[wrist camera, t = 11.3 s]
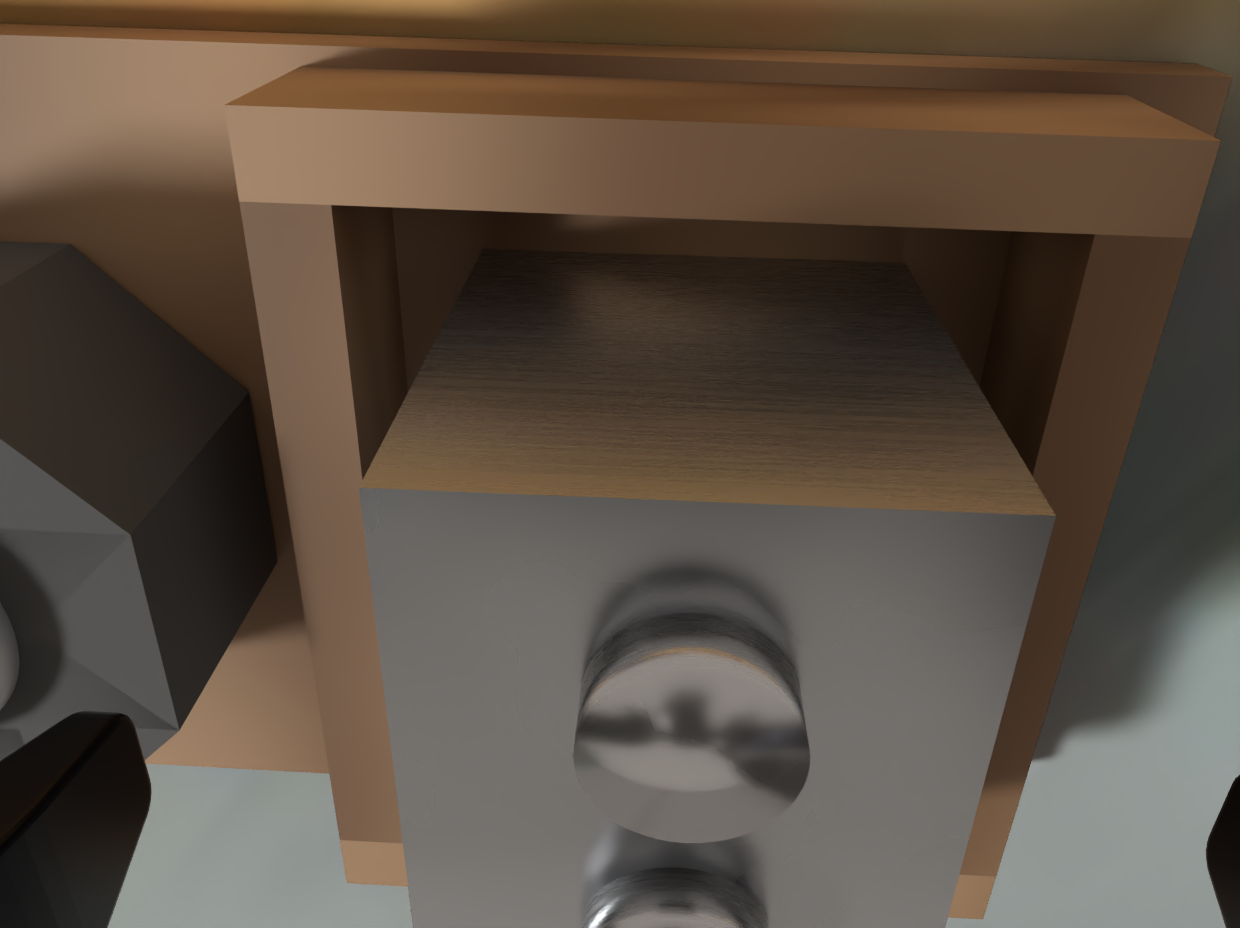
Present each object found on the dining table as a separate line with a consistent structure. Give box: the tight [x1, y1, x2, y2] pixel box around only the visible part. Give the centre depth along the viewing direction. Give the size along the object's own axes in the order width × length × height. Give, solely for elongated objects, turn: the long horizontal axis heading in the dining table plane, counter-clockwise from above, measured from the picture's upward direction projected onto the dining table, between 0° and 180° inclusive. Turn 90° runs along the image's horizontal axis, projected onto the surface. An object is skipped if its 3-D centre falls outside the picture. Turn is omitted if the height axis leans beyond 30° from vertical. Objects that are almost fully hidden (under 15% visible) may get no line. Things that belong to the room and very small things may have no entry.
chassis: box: [0, 23, 1232, 919], centre depth 12 cm, size 16×10×4 cm, turn 89°
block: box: [359, 249, 1056, 928], centre depth 10 cm, size 6×4×6 cm
